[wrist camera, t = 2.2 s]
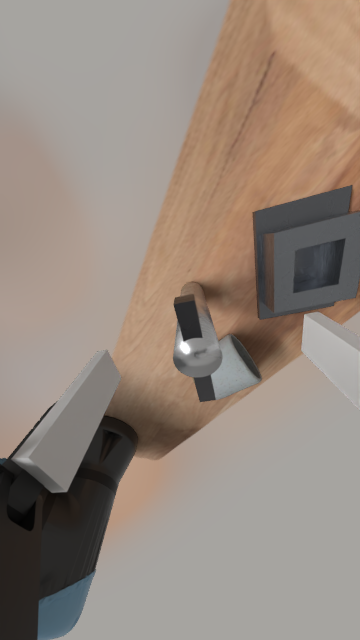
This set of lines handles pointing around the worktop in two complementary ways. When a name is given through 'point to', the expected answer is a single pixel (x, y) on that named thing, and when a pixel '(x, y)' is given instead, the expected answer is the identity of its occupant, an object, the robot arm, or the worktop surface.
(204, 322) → the t key
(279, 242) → the chuck block
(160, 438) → the worktop surface
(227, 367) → the ceramic mug
